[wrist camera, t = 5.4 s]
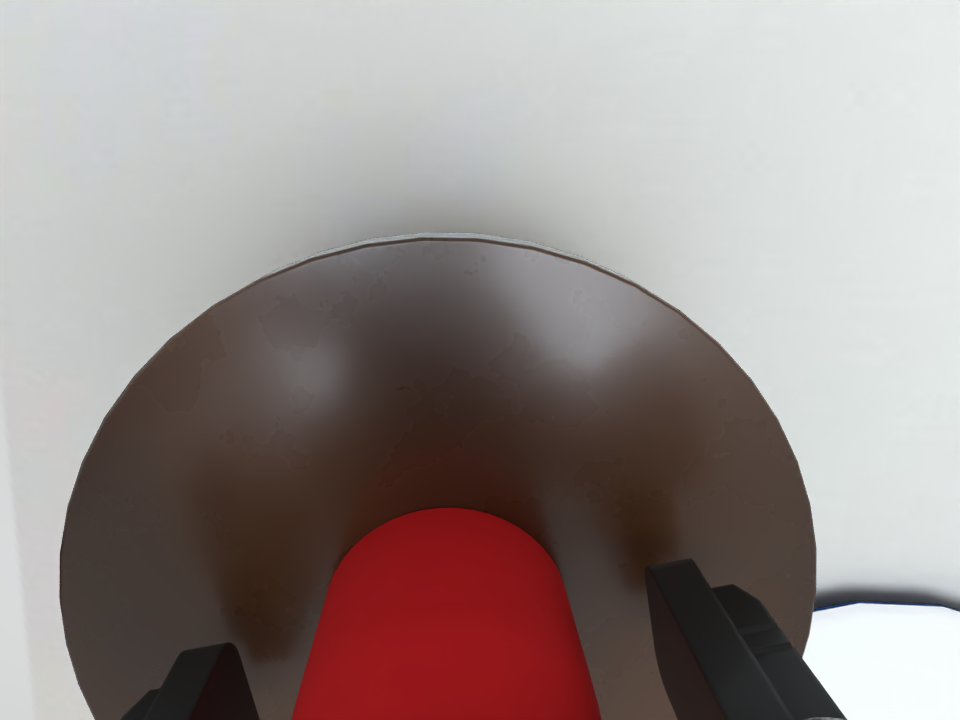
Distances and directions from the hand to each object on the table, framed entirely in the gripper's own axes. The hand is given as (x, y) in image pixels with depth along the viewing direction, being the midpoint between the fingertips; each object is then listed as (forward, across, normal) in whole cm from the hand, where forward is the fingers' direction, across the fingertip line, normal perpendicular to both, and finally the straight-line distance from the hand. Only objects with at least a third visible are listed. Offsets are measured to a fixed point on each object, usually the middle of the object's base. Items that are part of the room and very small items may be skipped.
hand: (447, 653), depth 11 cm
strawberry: (+1, 0, 0) cm, 1 cm away
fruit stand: (+14, 0, 0) cm, 14 cm away
